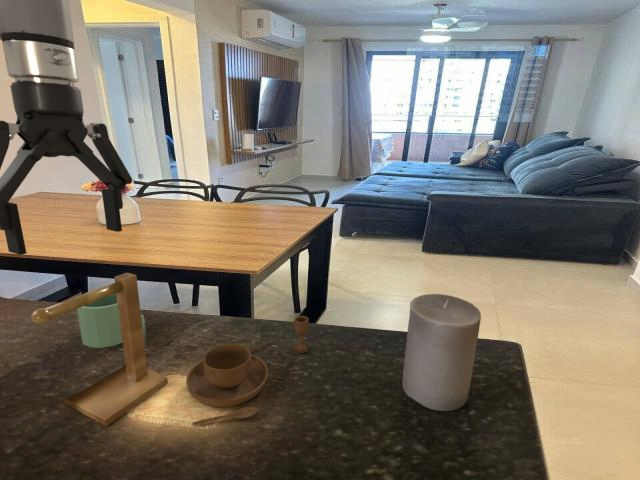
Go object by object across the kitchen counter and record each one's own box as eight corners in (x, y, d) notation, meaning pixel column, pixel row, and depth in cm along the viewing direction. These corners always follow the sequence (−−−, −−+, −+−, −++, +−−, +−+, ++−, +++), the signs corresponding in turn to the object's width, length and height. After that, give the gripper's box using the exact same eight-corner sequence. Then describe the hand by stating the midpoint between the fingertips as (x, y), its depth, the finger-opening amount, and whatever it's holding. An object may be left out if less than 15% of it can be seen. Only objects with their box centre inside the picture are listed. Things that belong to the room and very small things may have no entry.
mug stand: (19, 413, 50) (-8, 294, 46) (115, 360, 62) (101, 261, 58) (75, 448, 45) (51, 318, 41) (168, 382, 57) (157, 276, 53)
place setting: (191, 355, 64) (188, 324, 63) (306, 342, 69) (307, 313, 68) (182, 432, 48) (178, 393, 47) (333, 408, 53) (335, 372, 51)
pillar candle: (458, 372, 62) (471, 287, 58) (476, 415, 53) (493, 318, 48) (397, 367, 63) (406, 283, 58) (405, 409, 53) (416, 313, 49)
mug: (72, 348, 65) (63, 300, 63) (117, 326, 73) (111, 283, 70) (123, 371, 60) (117, 319, 57) (167, 345, 67) (163, 298, 65)
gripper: (-71, 67, 37) (-22, 271, 43) (147, 92, 58) (159, 226, 64) (-102, 70, 40) (-53, 259, 46) (115, 92, 62) (130, 220, 68)
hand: (71, 240), depth 55 cm, fingers open, 13 cm apart
